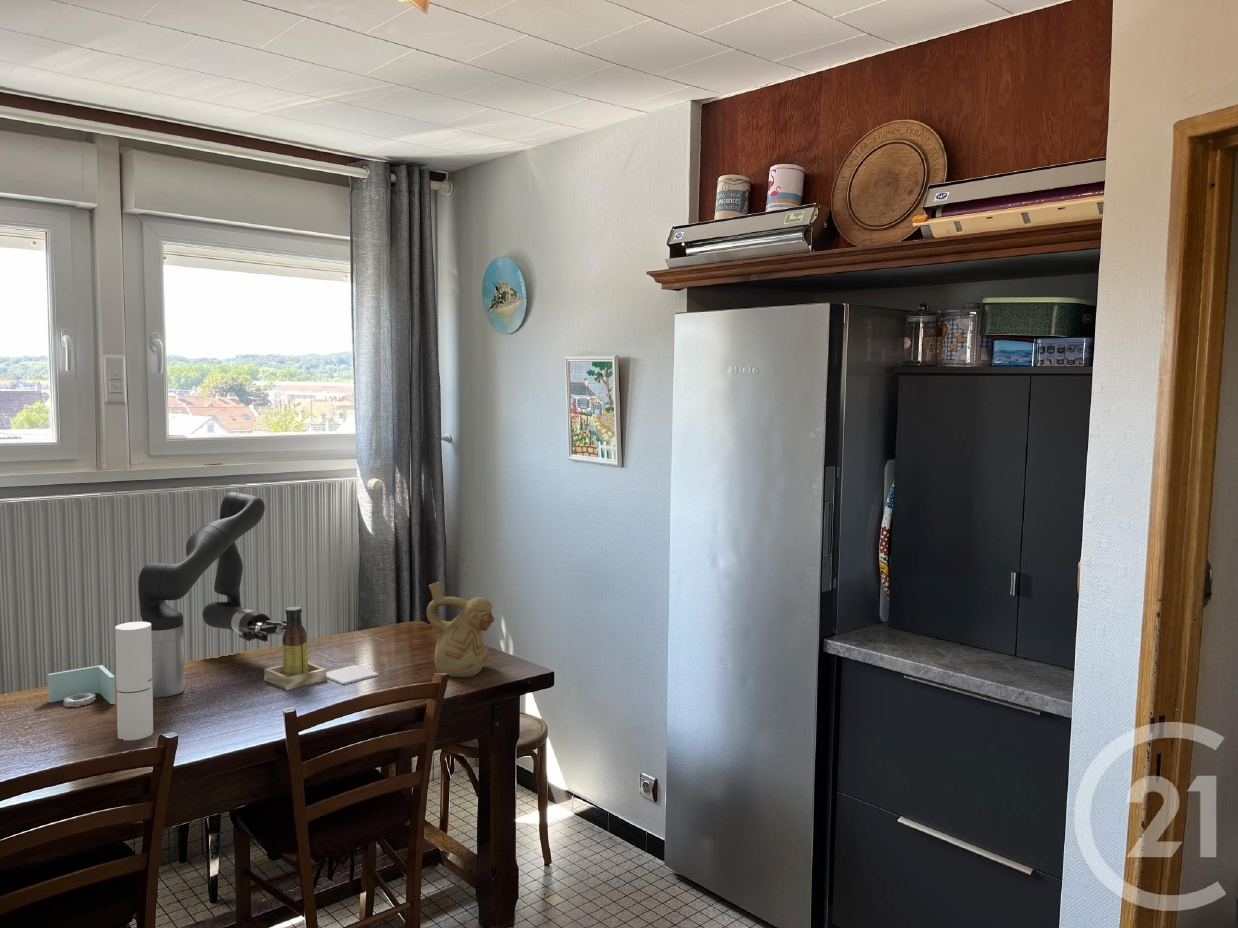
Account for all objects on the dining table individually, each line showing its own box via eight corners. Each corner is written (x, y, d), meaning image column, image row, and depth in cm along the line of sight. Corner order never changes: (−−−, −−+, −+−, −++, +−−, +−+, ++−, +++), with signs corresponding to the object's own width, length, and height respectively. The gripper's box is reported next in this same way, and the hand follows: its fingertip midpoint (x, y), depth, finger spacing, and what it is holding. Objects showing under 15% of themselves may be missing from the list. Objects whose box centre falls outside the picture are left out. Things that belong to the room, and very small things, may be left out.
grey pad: (343, 684, 246) (343, 682, 246) (320, 675, 253) (320, 673, 253) (378, 675, 255) (378, 673, 254) (354, 666, 262) (354, 664, 262)
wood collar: (287, 689, 241) (287, 678, 241) (264, 680, 248) (264, 669, 248) (326, 679, 250) (326, 668, 250) (303, 670, 257) (303, 660, 257)
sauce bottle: (300, 674, 254) (299, 603, 252) (312, 679, 250) (312, 607, 248) (278, 680, 249) (277, 607, 247) (290, 685, 245) (290, 611, 243)
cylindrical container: (158, 728, 213) (156, 621, 211) (144, 740, 206) (141, 630, 204) (127, 728, 213) (125, 621, 210) (111, 739, 205) (108, 629, 203)
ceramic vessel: (484, 682, 251) (485, 591, 249) (415, 677, 254) (416, 587, 252) (502, 664, 267) (503, 579, 265) (437, 659, 270) (437, 575, 268)
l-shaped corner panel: (48, 703, 229) (47, 673, 228) (103, 693, 237) (102, 664, 236) (59, 717, 220) (58, 686, 219) (115, 706, 228) (114, 676, 227)
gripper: (226, 615, 257) (256, 625, 247) (273, 606, 268) (304, 616, 258) (226, 641, 258) (256, 653, 248) (274, 632, 269) (304, 642, 259)
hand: (281, 634), depth 253 cm, fingers open, 8 cm apart
